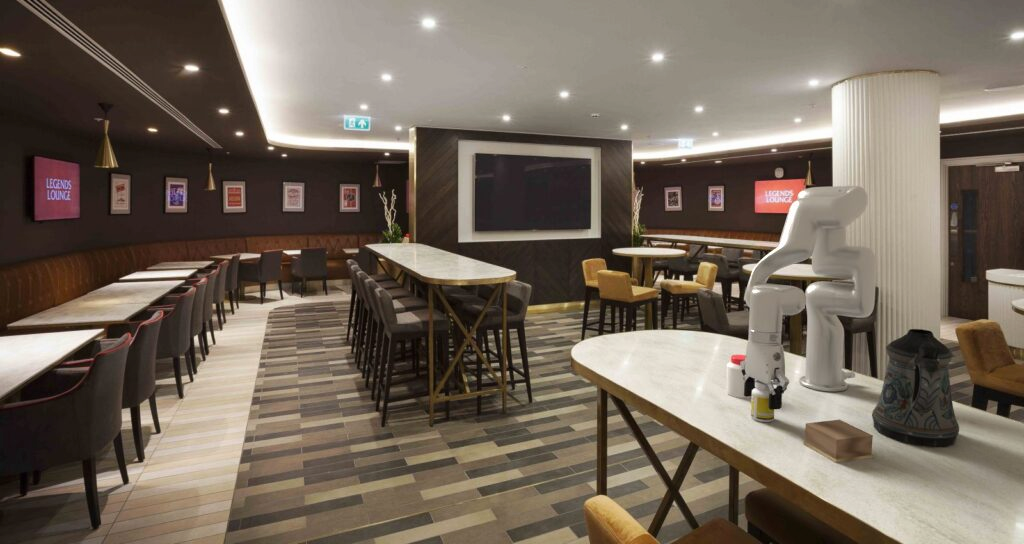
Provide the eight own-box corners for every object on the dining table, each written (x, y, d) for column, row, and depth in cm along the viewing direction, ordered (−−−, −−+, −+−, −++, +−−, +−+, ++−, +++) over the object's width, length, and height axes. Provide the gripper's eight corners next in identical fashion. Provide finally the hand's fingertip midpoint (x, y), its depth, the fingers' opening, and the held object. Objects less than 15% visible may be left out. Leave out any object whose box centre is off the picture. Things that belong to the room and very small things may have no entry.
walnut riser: (838, 439, 124) (839, 419, 124) (873, 457, 115) (874, 435, 115) (803, 444, 123) (804, 423, 122) (835, 462, 113) (836, 440, 113)
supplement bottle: (778, 420, 136) (780, 383, 135) (762, 424, 134) (763, 386, 133) (761, 413, 141) (763, 377, 140) (746, 416, 139) (747, 380, 138)
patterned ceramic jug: (919, 418, 135) (926, 322, 133) (990, 453, 116) (999, 341, 113) (855, 420, 135) (861, 323, 132) (916, 456, 116) (924, 343, 113)
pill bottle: (737, 399, 152) (738, 361, 150) (720, 390, 159) (721, 354, 158) (760, 396, 154) (761, 359, 152) (742, 388, 161) (743, 352, 160)
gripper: (802, 343, 127) (799, 413, 129) (755, 329, 144) (753, 390, 146) (774, 345, 126) (771, 415, 128) (730, 330, 143) (728, 392, 144)
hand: (761, 402), depth 137 cm, fingers open, 9 cm apart
